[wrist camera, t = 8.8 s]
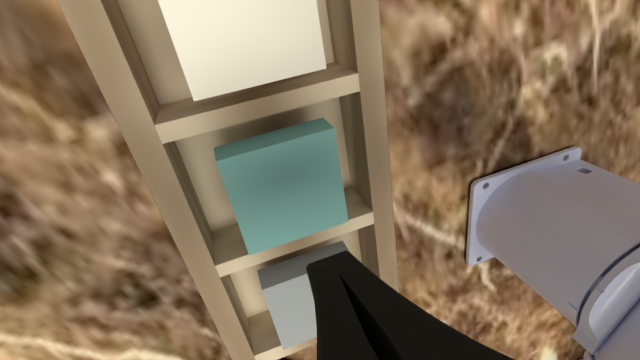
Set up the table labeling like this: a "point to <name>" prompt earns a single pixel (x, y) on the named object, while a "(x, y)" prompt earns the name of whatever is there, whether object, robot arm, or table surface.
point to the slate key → (293, 295)
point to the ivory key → (243, 42)
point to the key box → (237, 124)
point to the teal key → (284, 184)
